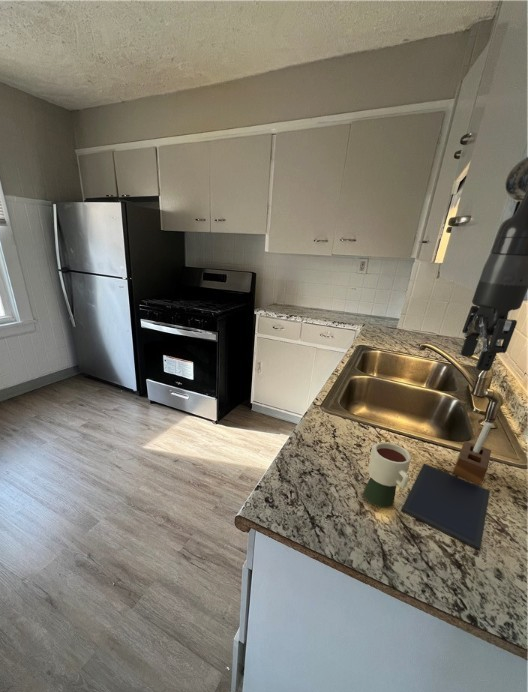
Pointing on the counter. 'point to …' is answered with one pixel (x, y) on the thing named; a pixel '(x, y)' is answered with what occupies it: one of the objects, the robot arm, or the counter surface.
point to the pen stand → (472, 463)
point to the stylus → (482, 437)
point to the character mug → (386, 473)
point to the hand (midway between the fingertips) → (473, 362)
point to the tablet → (449, 505)
